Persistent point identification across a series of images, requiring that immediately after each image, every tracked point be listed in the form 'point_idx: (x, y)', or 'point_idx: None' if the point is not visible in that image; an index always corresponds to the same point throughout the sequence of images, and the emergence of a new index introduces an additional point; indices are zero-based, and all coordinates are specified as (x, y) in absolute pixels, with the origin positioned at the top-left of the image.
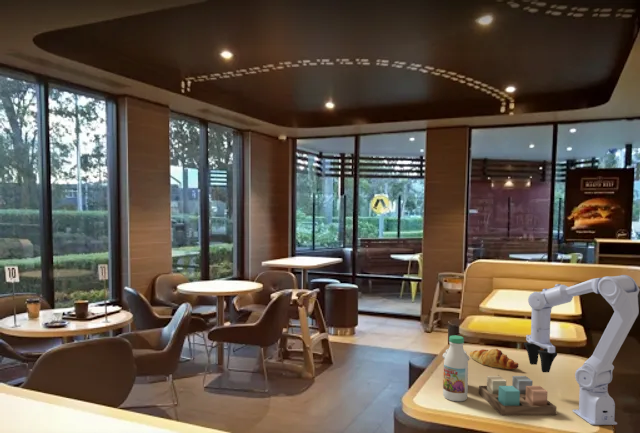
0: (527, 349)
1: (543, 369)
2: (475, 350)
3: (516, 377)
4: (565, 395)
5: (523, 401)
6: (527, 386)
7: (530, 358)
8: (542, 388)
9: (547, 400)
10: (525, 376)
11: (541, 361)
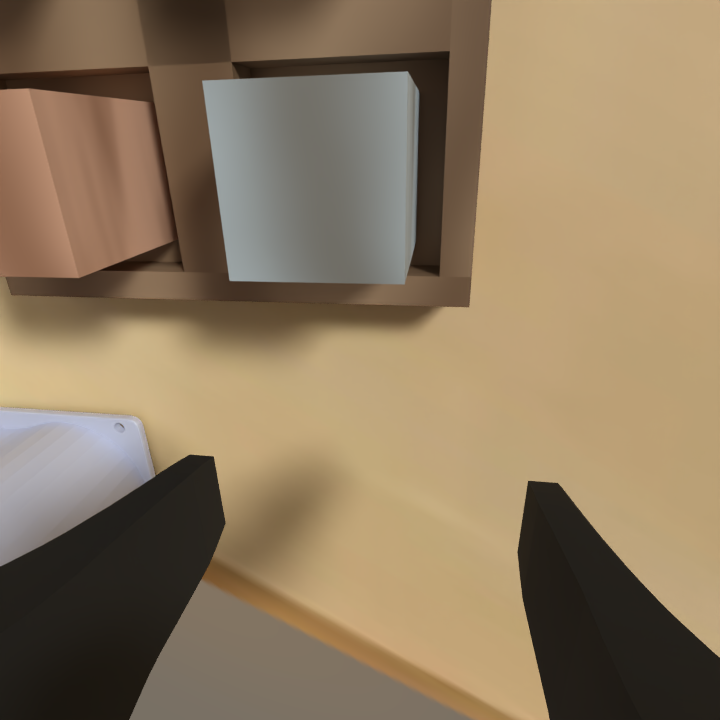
0: (680, 700)
1: (158, 479)
2: None
3: (340, 108)
4: (406, 529)
5: (42, 31)
6: (12, 101)
7: (556, 547)
8: (4, 266)
9: (124, 295)
10: (385, 273)
11: (78, 547)
